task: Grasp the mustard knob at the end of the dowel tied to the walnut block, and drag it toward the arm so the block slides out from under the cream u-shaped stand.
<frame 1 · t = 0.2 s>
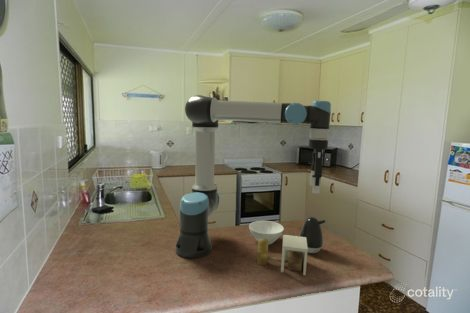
hand: (314, 189, 120), 27 cm above the worktop, fingers open, 13 cm apart
pump dispenser: (310, 251, 123), on the worktop
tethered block: (294, 267, 109), on the worktop
cream u-shaped stand: (293, 266, 109), on the worktop
bowl: (265, 241, 131), on the worktop
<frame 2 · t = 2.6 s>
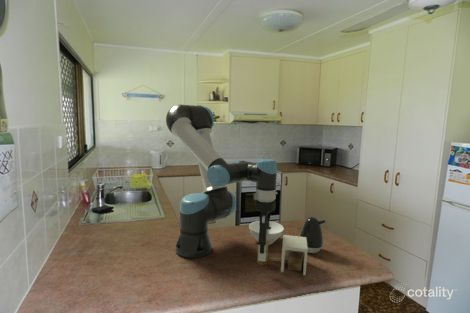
hand: (263, 252, 111), 4 cm above the worktop, fingers open, 13 cm apart
nothing on the worktop moved.
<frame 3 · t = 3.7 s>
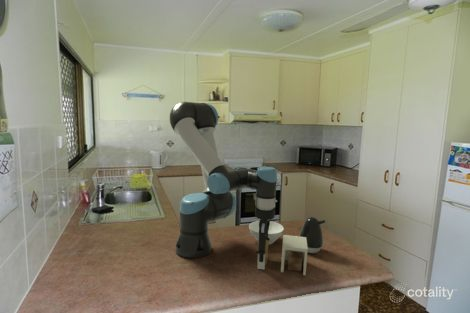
hand: (262, 262, 111), 0 cm above the worktop, fingers open, 9 cm apart
nothing on the worktop moved.
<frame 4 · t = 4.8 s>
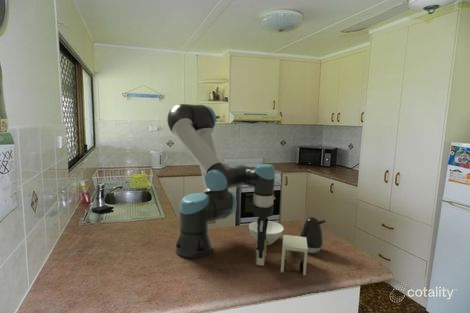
hand: (261, 261, 111), 0 cm above the worktop, fingers closed on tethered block, 4 cm apart
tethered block: (292, 266, 109), on the worktop, touching gripper
everything else where it was.
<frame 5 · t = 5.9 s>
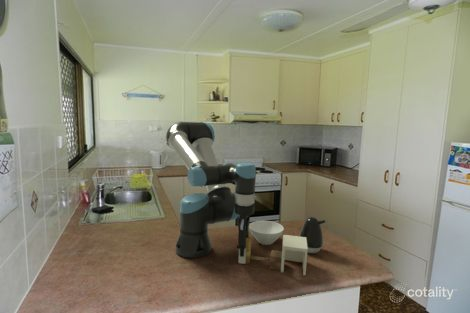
hand: (242, 259, 112), 0 cm above the worktop, fingers closed on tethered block, 4 cm apart
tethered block: (276, 266, 109), on the worktop, touching gripper
everything else where it was.
when the fingers open (0 cm above the worktop, at t = 7.4 s): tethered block stays where it is, on the worktop.
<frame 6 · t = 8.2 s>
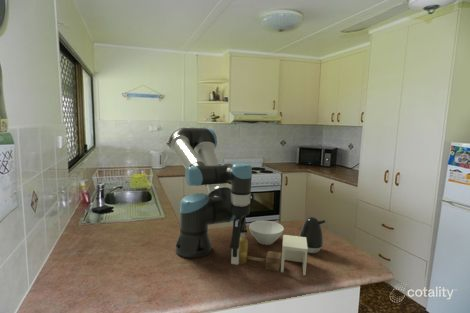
hand: (238, 255, 112), 2 cm above the worktop, fingers open, 13 cm apart
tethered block: (273, 267, 109), on the worktop
everything else where it was.
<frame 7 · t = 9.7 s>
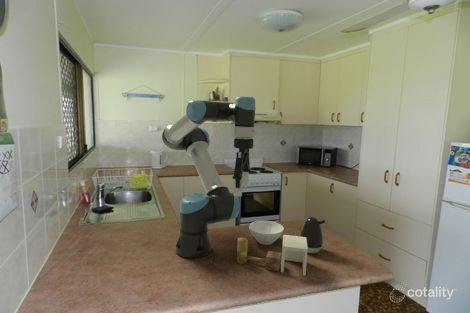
hand: (241, 191, 112), 27 cm above the worktop, fingers open, 13 cm apart
nothing on the worktop moved.
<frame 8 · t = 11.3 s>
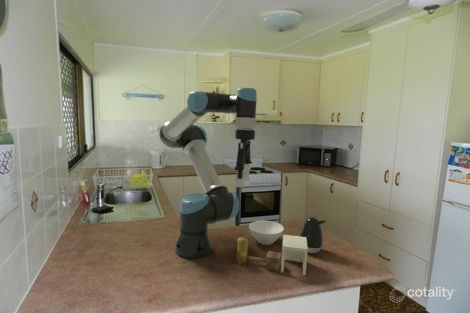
hand: (242, 182, 112), 31 cm above the worktop, fingers open, 13 cm apart
nothing on the worktop moved.
at the end: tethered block inside the target area (10.4 cm from its centre), on the worktop; the gripper is holding nothing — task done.
